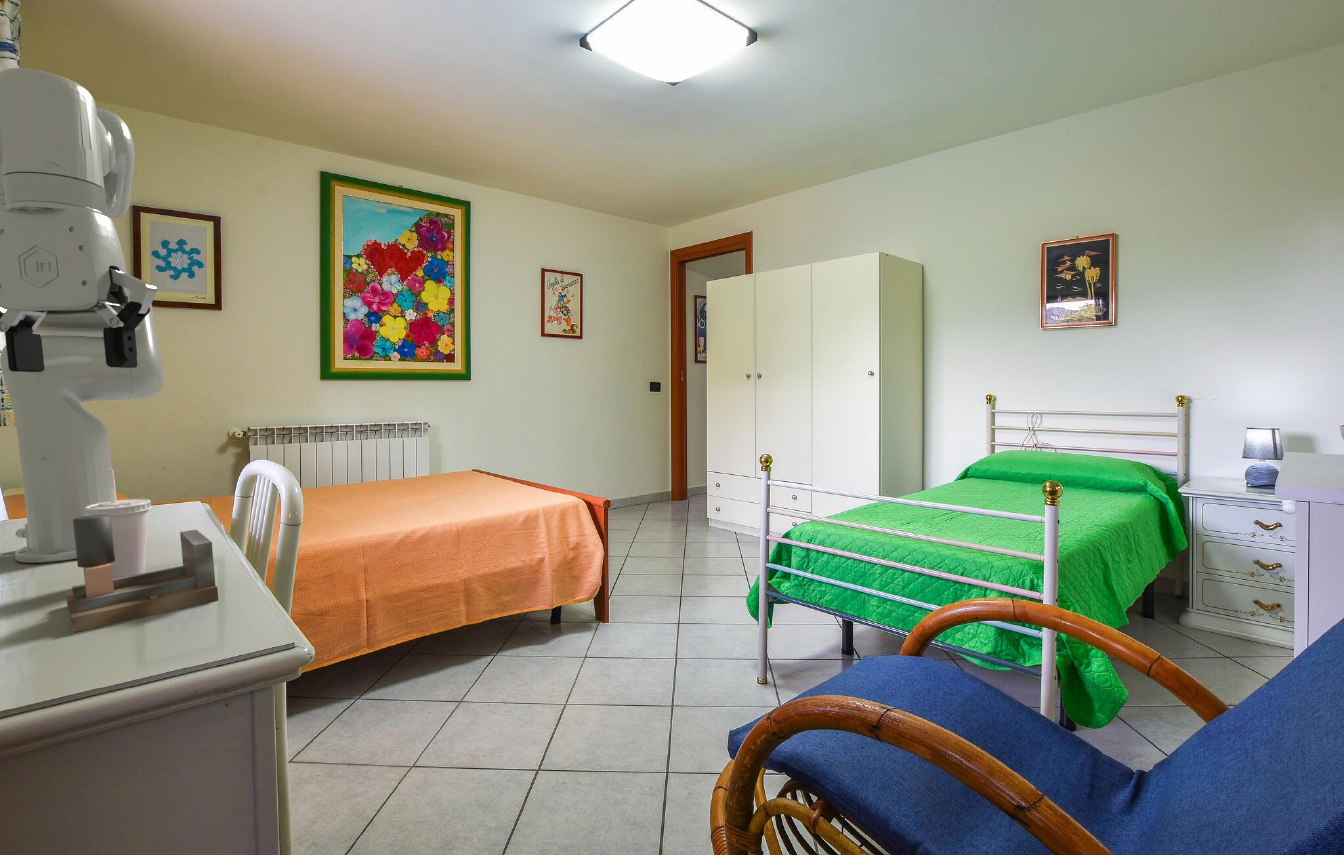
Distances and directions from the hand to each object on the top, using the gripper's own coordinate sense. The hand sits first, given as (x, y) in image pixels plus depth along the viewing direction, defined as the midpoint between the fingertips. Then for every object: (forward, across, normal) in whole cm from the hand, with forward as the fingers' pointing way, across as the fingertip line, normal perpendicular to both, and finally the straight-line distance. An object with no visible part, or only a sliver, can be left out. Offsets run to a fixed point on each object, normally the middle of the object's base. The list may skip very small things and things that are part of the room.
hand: (75, 369), depth 66 cm
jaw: (+24, 0, +1) cm, 24 cm away
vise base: (+26, +2, +3) cm, 26 cm away
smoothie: (+26, -7, +12) cm, 30 cm away
